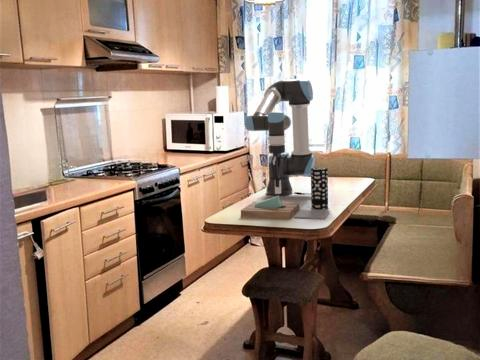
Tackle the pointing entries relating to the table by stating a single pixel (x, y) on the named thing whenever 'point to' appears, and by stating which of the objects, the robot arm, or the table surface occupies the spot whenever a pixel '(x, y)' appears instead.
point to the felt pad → (312, 214)
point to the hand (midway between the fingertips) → (278, 193)
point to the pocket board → (271, 211)
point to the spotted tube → (319, 188)
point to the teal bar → (270, 203)
